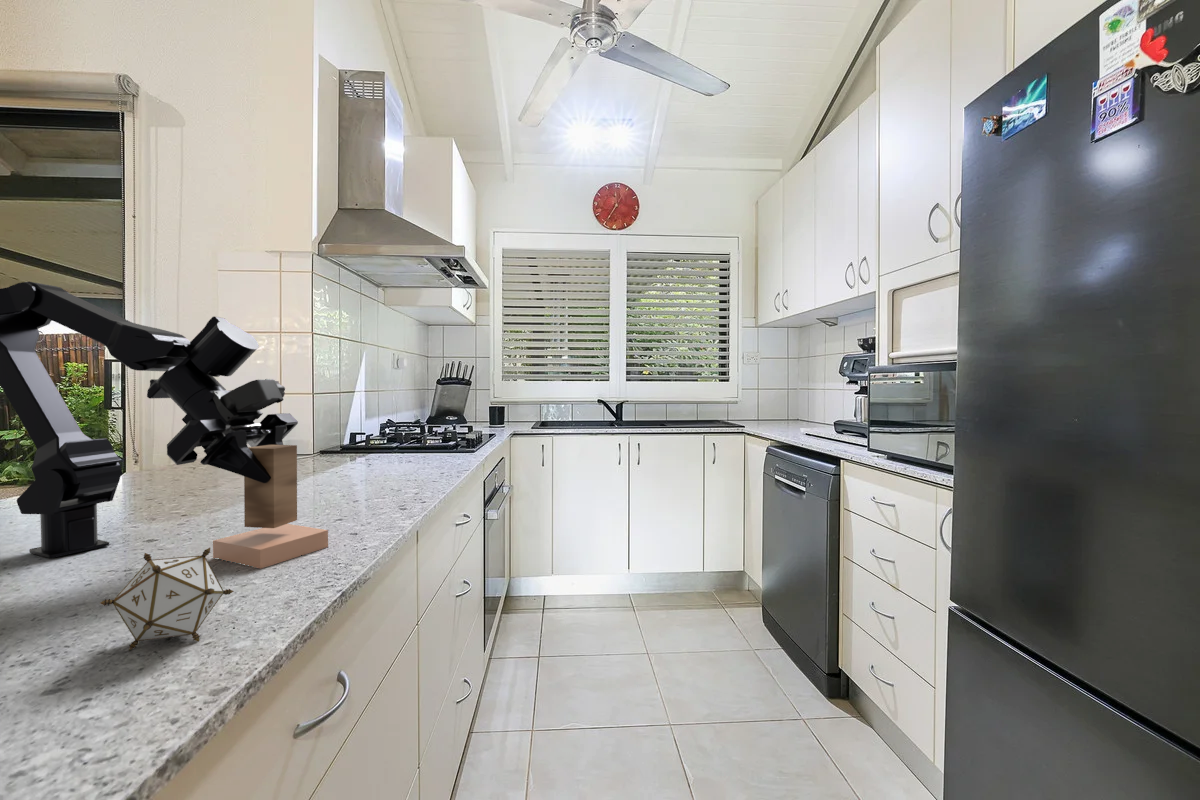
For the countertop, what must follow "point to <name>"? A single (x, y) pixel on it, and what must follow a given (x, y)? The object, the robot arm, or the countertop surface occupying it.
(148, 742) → the countertop surface
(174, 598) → the game die
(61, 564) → the countertop surface
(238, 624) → the countertop surface
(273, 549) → the terracotta tile
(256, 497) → the walnut block
